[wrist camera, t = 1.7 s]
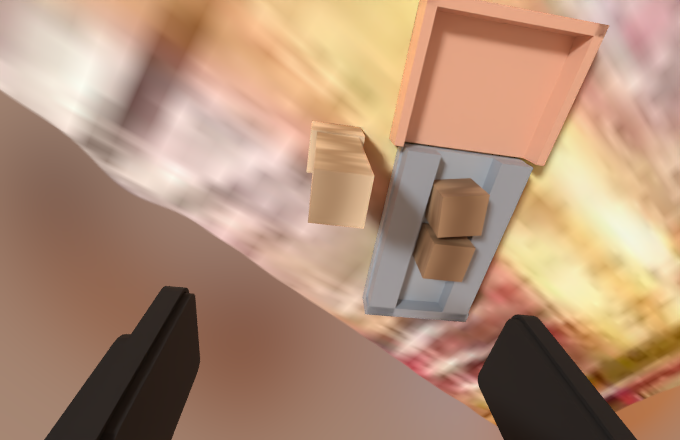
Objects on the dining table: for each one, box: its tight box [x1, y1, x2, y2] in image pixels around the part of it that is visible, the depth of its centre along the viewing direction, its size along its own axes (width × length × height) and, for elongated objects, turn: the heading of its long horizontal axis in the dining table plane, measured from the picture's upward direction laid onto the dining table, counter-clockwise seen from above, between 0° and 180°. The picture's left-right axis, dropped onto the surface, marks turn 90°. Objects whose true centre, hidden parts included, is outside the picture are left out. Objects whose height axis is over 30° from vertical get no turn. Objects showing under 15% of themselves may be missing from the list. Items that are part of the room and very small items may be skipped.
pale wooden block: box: [307, 121, 374, 229], centre depth 24 cm, size 4×4×12 cm
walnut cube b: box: [425, 178, 490, 238], centre depth 29 cm, size 4×4×4 cm
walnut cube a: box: [413, 223, 476, 282], centre depth 32 cm, size 4×4×4 cm
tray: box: [389, 0, 609, 166], centre depth 27 cm, size 14×11×2 cm
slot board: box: [363, 143, 533, 322], centre depth 33 cm, size 12×19×3 cm, turn 172°
